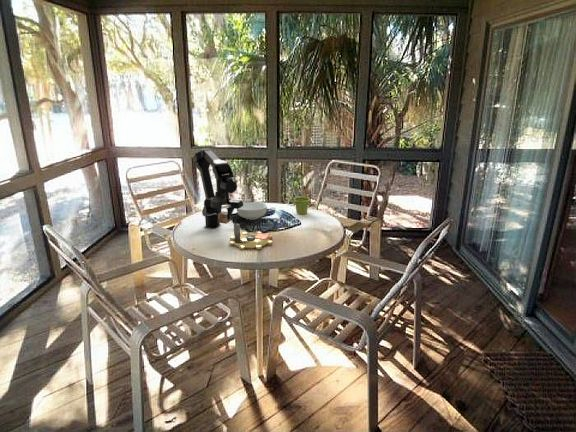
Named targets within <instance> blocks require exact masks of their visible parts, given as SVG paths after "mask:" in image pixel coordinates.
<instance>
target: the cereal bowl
mask: <svg viewBox="0 0 576 432" xmlns="http://www.w3.org/2000/svg"><path fill="white" fill-rule="evenodd" d="M267 211H268V205H267V204H266V203H263V202H259V201H255V202H254V201H252V202H251V201H250V202H249V201H248V202H243V206H242V207H240V208H239V209H236V212H237V214H238V215H239V216H240V217H241V218H244V219H246V220H248V219H249V220H250V221H254V220H258V219H260V218H261V217H264V216H265V215H266V213H267ZM249 220H248V221H249Z"/></svg>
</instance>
